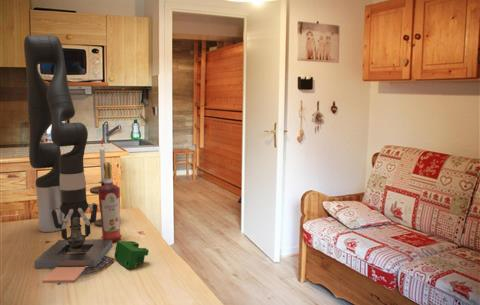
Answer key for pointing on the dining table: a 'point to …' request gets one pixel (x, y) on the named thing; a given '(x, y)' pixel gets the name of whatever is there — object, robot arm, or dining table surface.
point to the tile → (64, 274)
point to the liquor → (109, 206)
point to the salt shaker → (76, 236)
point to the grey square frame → (59, 259)
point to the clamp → (129, 253)
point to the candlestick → (95, 189)
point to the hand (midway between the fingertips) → (76, 237)
